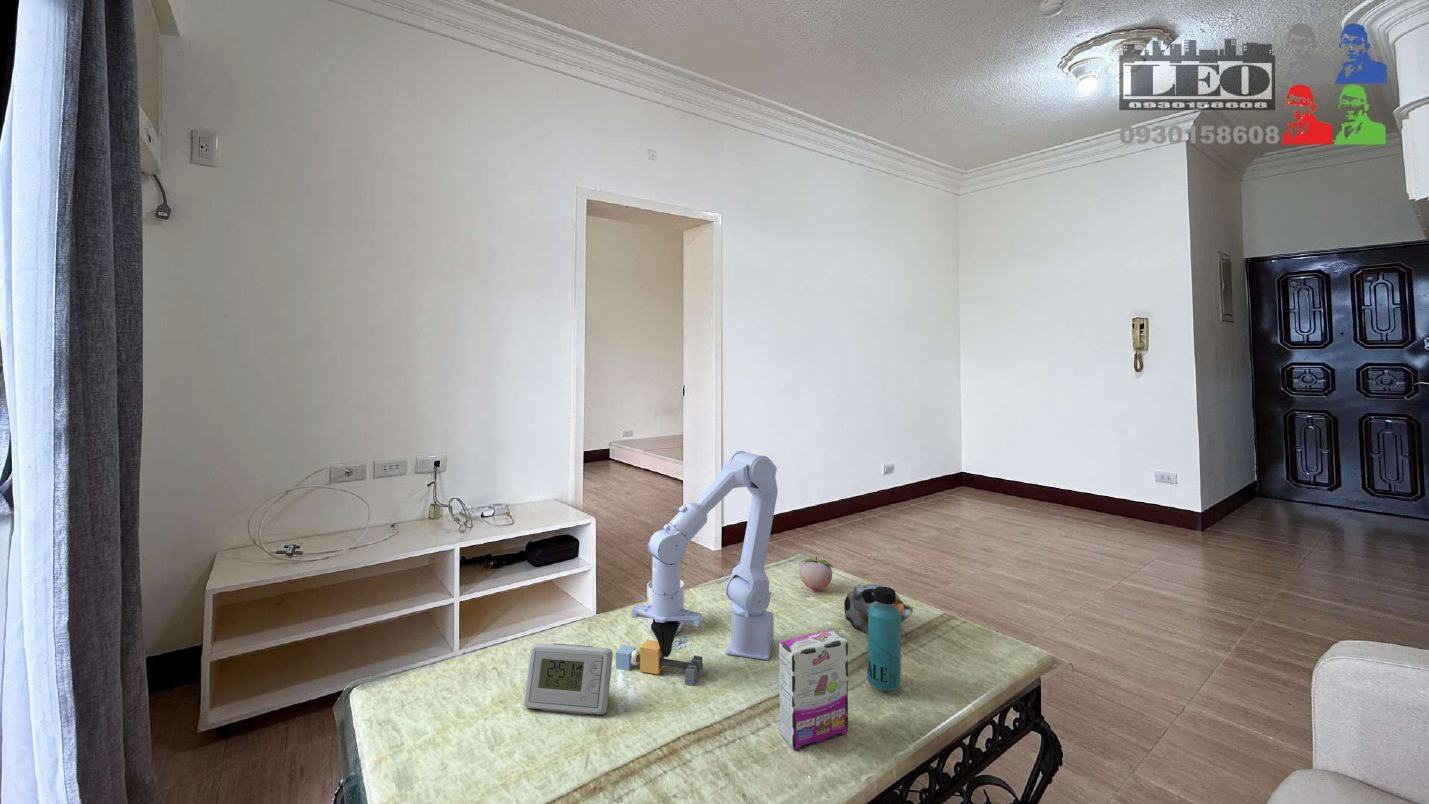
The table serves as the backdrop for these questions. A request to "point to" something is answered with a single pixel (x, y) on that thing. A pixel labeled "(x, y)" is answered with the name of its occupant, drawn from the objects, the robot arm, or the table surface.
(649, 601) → the mug
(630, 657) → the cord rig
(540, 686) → the digital clock
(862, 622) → the grey black rounded piece
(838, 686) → the candy bar box
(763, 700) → the table surface
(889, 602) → the beverage bottle
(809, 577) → the decorative fruit
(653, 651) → the sleeve
